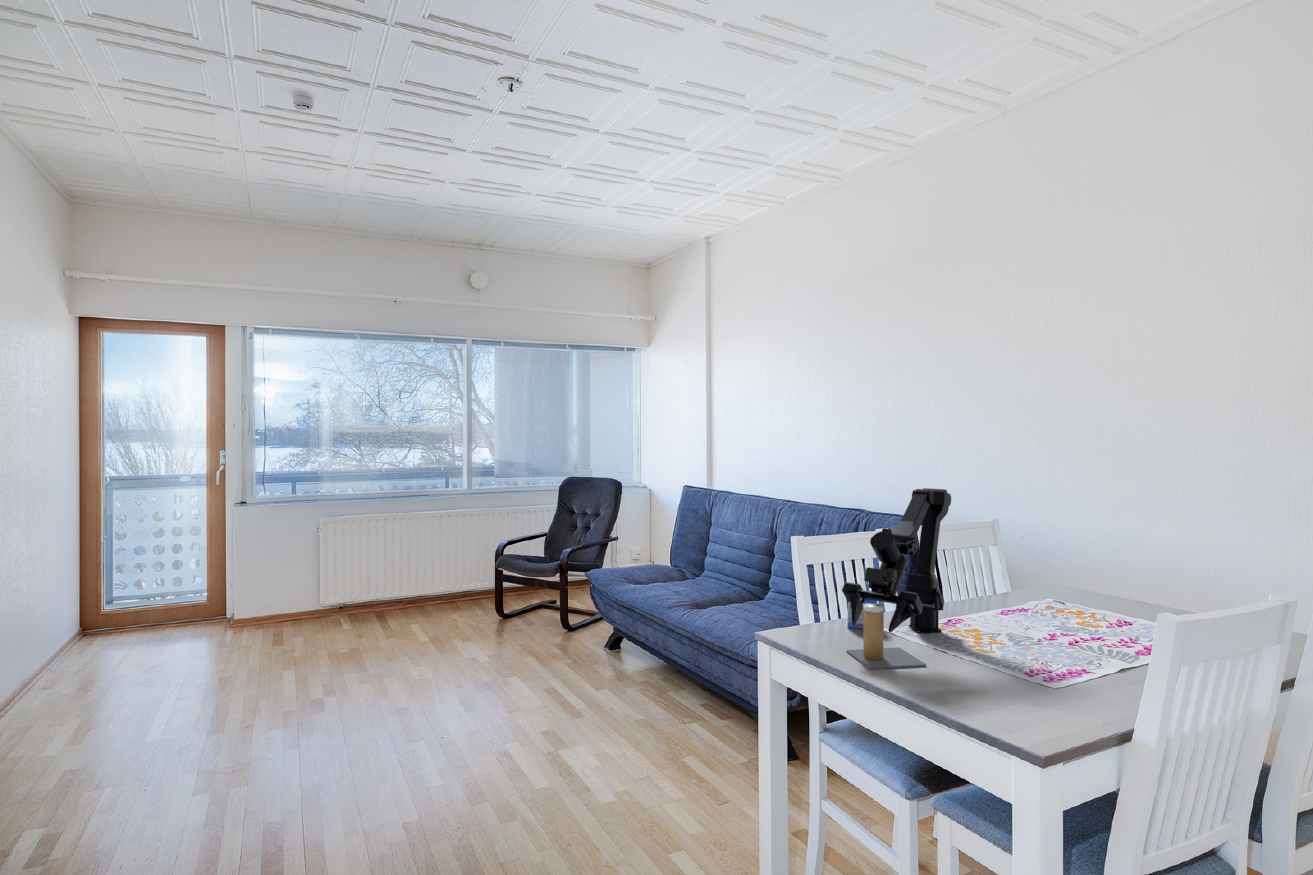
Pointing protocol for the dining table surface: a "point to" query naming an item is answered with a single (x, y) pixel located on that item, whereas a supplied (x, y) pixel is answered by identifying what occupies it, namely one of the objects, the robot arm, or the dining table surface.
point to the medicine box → (860, 620)
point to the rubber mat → (888, 659)
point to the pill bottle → (873, 631)
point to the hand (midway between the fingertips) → (871, 627)
